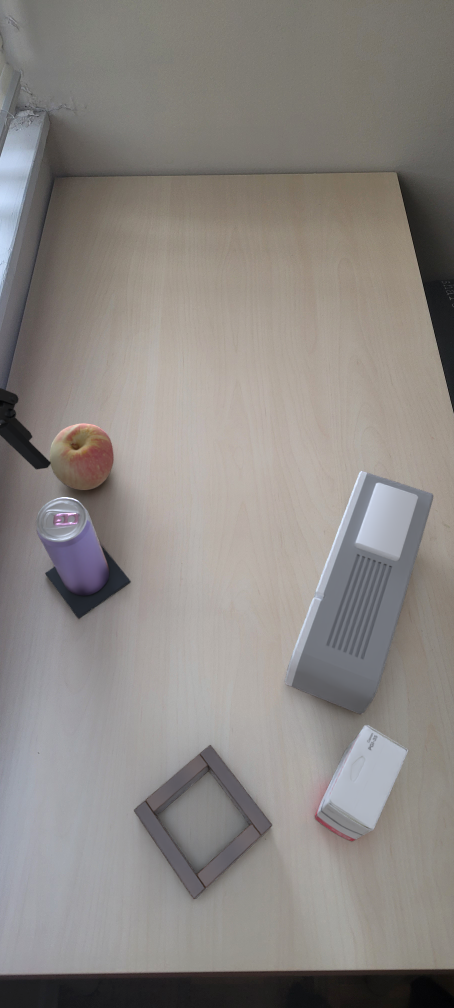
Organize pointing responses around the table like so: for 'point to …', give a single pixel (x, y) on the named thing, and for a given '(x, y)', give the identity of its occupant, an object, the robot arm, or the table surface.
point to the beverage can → (72, 545)
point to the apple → (82, 456)
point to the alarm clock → (360, 594)
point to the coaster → (89, 602)
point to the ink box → (361, 784)
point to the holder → (179, 785)
